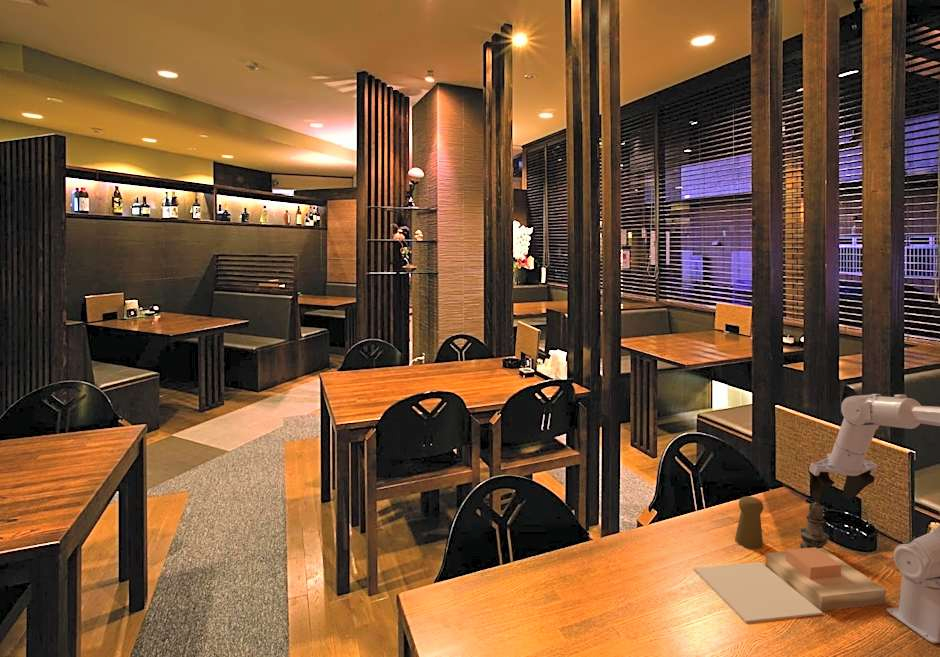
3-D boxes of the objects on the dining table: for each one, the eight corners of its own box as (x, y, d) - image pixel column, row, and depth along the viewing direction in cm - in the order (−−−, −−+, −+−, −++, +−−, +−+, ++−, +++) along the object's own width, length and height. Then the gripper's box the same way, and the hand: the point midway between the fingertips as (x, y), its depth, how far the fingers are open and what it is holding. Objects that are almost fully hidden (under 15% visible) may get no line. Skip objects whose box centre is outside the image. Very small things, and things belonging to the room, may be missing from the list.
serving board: (884, 603, 109) (886, 589, 108) (820, 610, 107) (821, 596, 106) (822, 560, 124) (822, 548, 124) (765, 565, 122) (766, 553, 122)
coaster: (840, 576, 113) (841, 564, 113) (809, 579, 112) (810, 567, 112) (814, 558, 120) (815, 547, 119) (785, 560, 119) (786, 549, 118)
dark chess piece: (832, 556, 126) (836, 506, 125) (804, 553, 127) (807, 504, 126) (821, 543, 132) (825, 495, 130) (794, 541, 133) (798, 493, 131)
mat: (822, 614, 106) (822, 612, 106) (745, 622, 103) (745, 620, 103) (760, 563, 123) (760, 562, 123) (693, 569, 121) (693, 568, 121)
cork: (729, 539, 134) (731, 496, 133) (746, 534, 137) (749, 491, 135) (751, 551, 129) (753, 506, 127) (768, 545, 131) (771, 501, 130)
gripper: (866, 435, 121) (847, 485, 126) (806, 437, 119) (789, 488, 124) (893, 454, 115) (871, 506, 120) (831, 456, 112) (811, 510, 117)
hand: (831, 499), depth 121 cm, fingers open, 7 cm apart
